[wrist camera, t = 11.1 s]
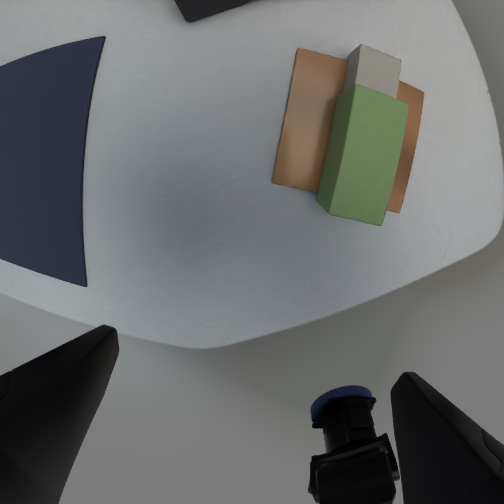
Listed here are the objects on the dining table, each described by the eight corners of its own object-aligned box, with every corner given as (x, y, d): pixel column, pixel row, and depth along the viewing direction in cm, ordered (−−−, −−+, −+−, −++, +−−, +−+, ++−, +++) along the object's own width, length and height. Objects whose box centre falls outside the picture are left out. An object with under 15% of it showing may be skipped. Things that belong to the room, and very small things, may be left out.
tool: (361, 211, 17) (382, 227, 14) (315, 200, 17) (328, 214, 14) (389, 69, 13) (414, 57, 10) (344, 53, 13) (362, 35, 10)
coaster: (397, 212, 17) (399, 213, 17) (271, 182, 17) (271, 182, 17) (422, 92, 14) (424, 92, 13) (297, 49, 13) (298, 47, 13)
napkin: (87, 285, 20) (85, 287, 20) (-33, 243, 20) (-35, 244, 19) (105, 36, 13) (104, 35, 12) (-31, 82, 12) (-33, 82, 12)
